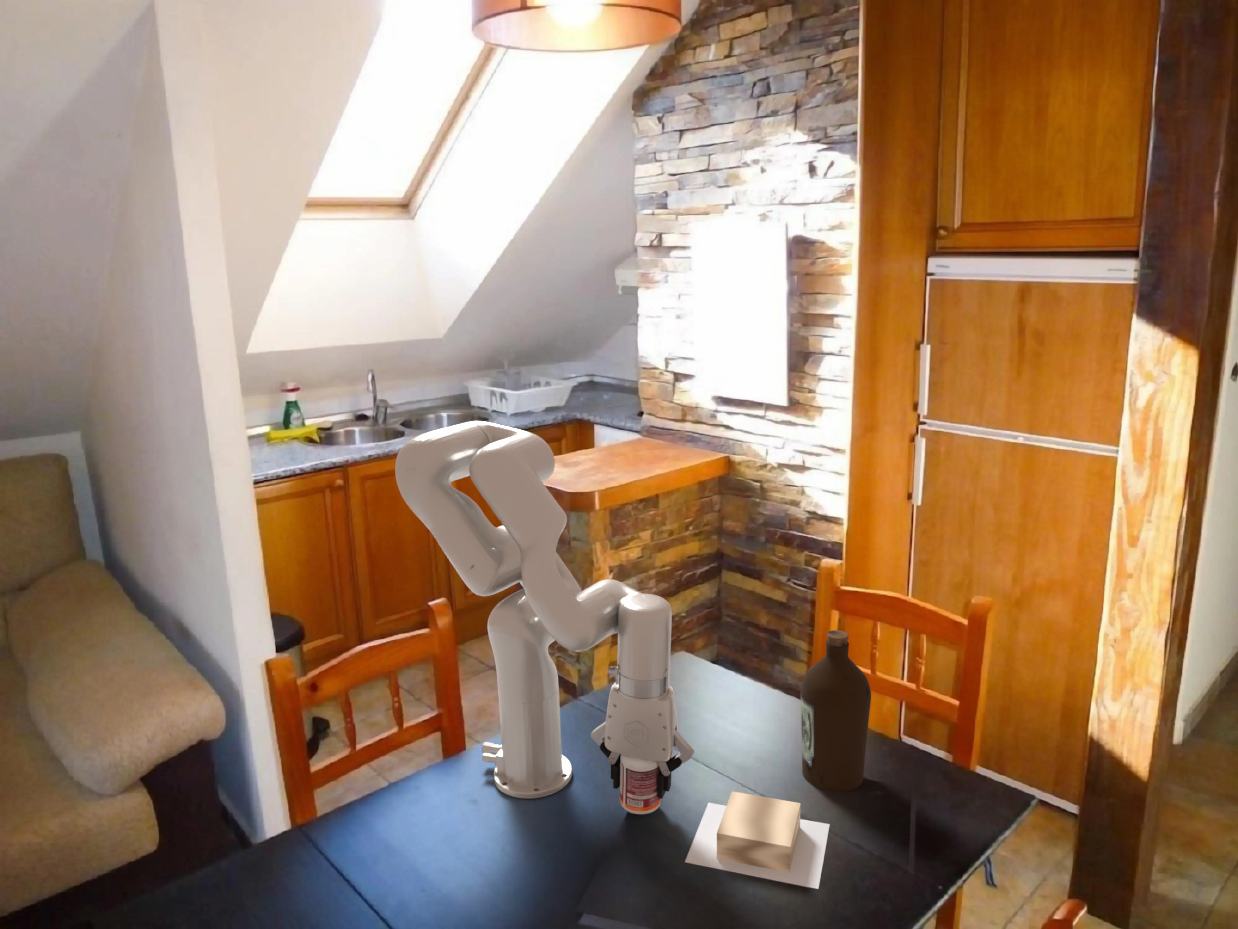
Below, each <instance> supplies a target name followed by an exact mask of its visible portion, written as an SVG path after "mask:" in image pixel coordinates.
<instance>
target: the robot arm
mask: <svg viewBox="0 0 1238 929" xmlns="http://www.w3.org/2000/svg"><path fill="white" fill-rule="evenodd" d="M555 459H556V458H555V454H554V452H553V450H552V448H551V446H549V444H548V443H547V442H546V441H545V439H543V437H540V436H539V435H538V434H535V433H533V432H530V431H526V430H522V429H519V428H515V427H510V426H505V425H500V424H498V423H493V422H487V421H482V420H472V421H466V422H461V423H458V424H454V425H451V426H446V427H442V428H438V429H434V430H430V431H428V432H424V433H421V434H419V435H416V436H415V437H413V438H412V439H410V440H408V441H407V442H406V443H405V444H403V446H402V447H401V448H400V450H399V451H398V452H397V455H396V459H395V467H394V468H395V473H394V474H395V480H396V485H397V487H398V490H399V493H400V495H401V497H402V499H403V500H404V502H405V503H406V505H407V506H408V508H409V509H410V510H411V511H412V513H413V514H414V515H415V516H416V517H417V518H418V520H420V521H421V522H422V524H423V525H424V526H425V527H426V529H428V530H429V532H430V533H431V534H432V536H433V538H434V539H435V540H436V542H437V544H438V545H439V548H441V550H442V552H443V553H444V554H445V556H446V557H447V560H448V561H449V562H450V564H451V566H453V568H454V570H455V571H456V573H457V574H458V576H459V577H460V578H461V580H462V581H463V583H464V584H465V585H466V587H467V588H468V589H469V590H470V591H471V592H472V593H474V595H477V596H479V597H480V596H481V597H488V596H489V597H491V596H492V595H493V596H494V595H495V594H499V593H500V592H503V591H505V590H506V589H508V588H511V587H512V586H514V585H516V584H518V583H520V586H521V587H523V588H521V589H519V590H517V591H515V592H513V593H511V594H510V595H508V596H506V597H505V598H504V599H502V600H500V601H499V602H498V603H497V604H496V605H495V606H494V608H493V609H492V611H491V612H490V614H489V616H488V619H487V626H486V627H487V633H488V634H487V635H488V639H489V644H490V646H491V650H492V653H493V657H494V663H495V670H496V671H495V672H496V680H497V681H496V682H497V695H498V709H499V724H500V741H501V743H500V744H497V743H494V742H488V741H484V742H483V744H482V747H481V753H482V756H481V761H482V762H485V763H493V764H495V765H496V766H495V768H494V770H493V771H494V772H493V780H494V781H493V782H494V784H495V786H496V788H497V789H498V790H499V791H500V792H501V793H504V794H505V795H507V796H510V797H513V798H517V799H518V798H519V799H525V800H526V799H530V800H531V799H538V798H544V797H548V796H551V795H553V794H555V793H557V792H559V791H561V790H563V789H564V788H565V787H566V786H567V785H568V784H569V783H570V782H571V779H572V776H573V766H572V764H571V761H570V760H569V759H568V758H567V757H566V756H565V755H563V753H562V735H561V734H562V733H561V732H562V731H561V710H560V688H559V687H560V686H559V676H558V669H557V667H556V665H555V662H554V660H553V659H552V658H551V655H550V654H549V650H548V649H549V646H550V645H551V644H552V643H553V642H556V643H558V644H559V645H560V646H561V647H562V648H564V649H566V650H568V651H571V652H579V653H580V652H584V651H588V650H589V649H591V648H593V647H595V646H596V645H598V644H600V643H601V642H602V641H604V640H606V638H608V637H610V636H612V635H615V634H617V665H614V666H612V665H610V666H609V667H608V670H607V675H608V676H611V677H613V678H615V682H614V683H613V684H612V685H611V688H610V691H609V694H608V695H609V696H608V702H607V708H606V716H605V721H604V722H603V723H601V724H600V725H598V726H597V727H596V728H594V729H593V730H592V731H591V733H590V738H591V739H592V740H593V741H594V742H595V743H596V745H597V746H599V749H600V751H601V752H602V753H603V754H604V756H606V758H607V762H608V764H609V765H610V779H611V780H613V782H612V785H613V786H612V787H613V789H616V790H618V789H620V756H621V754H623V755H627V756H632V757H637V758H641V759H646V760H651V761H657V762H658V764H659V767H660V769H661V771H660V773H659V775H658V792H657V797H658V798H659V799H661V800H663V798H664V797H665V794H666V792H667V793H668V792H670V790H671V786H672V772H673V771H675V770H676V769H679V767H681V765H683V764H685V763H686V762H688V761H689V760H691V759H692V758H693V755H694V754H695V750H694V749H693V747H692V746H691V745H690V744H689V743H688V741H686V740H685V738H684V737H683V736H682V735H681V734H680V733H679V728H678V711H677V705H676V704H677V703H676V697H675V696H676V695H675V692H674V688H673V686H671V685H670V678H671V676H670V675H671V648H672V647H671V645H672V617H673V616H672V607H671V604H670V603H669V602H668V600H666V599H665V598H664V597H662V596H660V595H656V594H652V593H642V592H641V591H639V590H637V589H635V588H633V587H631V586H629V585H627V584H625V583H623V582H621V581H619V580H616V579H611V578H606V579H602V580H599V581H597V582H595V583H594V584H592V585H590V586H589V587H586V588H585V589H583V590H582V588H581V586H580V585H579V583H578V581H577V580H576V579H575V577H574V576H573V575H572V572H571V571H570V569H568V567H567V566H566V563H564V561H563V560H562V558H561V557H560V554H558V552H557V546H558V542H559V540H560V536H562V535H561V534H562V533H563V532H564V529H565V528H566V525H567V522H568V517H567V514H566V512H565V511H564V509H563V508H562V507H561V505H559V503H558V502H557V500H556V499H555V498H554V496H553V494H551V492H550V490H549V489H548V488H547V487H546V485H545V484H544V482H546V481H548V480H549V479H550V478H551V476H552V475H553V473H554V471H555V464H556V460H555ZM467 477H470V480H471V482H472V483H473V485H474V486H475V487H476V489H477V491H478V493H479V494H480V495H481V496H482V498H483V499H484V501H486V503H487V505H488V506H489V507H490V509H491V510H492V512H493V514H494V515H495V516H496V517H497V519H498V520H499V522H500V523H501V524H502V525H499V526H497V527H496V526H494V525H493V524H492V522H490V520H489V519H488V517H487V516H486V515H485V513H484V512H483V510H482V509H481V507H480V506H479V505H478V504H477V502H476V501H474V500H473V499H472V498H471V497H470V496H468V495H467V494H466V493H464V492H462V491H460V490H458V489H457V488H455V487H454V486H453V485H452V482H454V481H457V480H460V479H463V478H467ZM674 748H676V749H677V750H678V752H679V753H677V754H675V755H674V756H673V751H674Z"/></svg>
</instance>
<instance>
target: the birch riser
mask: <svg viewBox="0 0 1238 929" xmlns="http://www.w3.org/2000/svg"><path fill="white" fill-rule="evenodd" d="M801 804H802V803H800V802H795V801H789V800H784V799H778V798H773V797H767V796H761V795H755V794H749V793H745V792H737V791H733V790H732V791H731V793H730V795H729V798H728V801H727V804H726V805H725V806H726V809H725V812H724V814H723V817H722V820H721V823H720V825H719V828H718V831H717V858H718V859H723V860H728V861H733V862H738V863H743V864H748V865H753V866H758V867H763V868H768V869H773V870H778V871H783V872H788V873H790V870H791V865H792V861H793V856H794V852H795V848H796V843H797V839H798V834H799V830H800V819H801V806H802V805H801Z"/></svg>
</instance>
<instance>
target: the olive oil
mask: <svg viewBox="0 0 1238 929" xmlns="http://www.w3.org/2000/svg"><path fill="white" fill-rule="evenodd" d="M826 639H827V640H826V641H825V655H824V656H823V657H822V658H820V659H819V660H818V661H817V662H815V663H814V664H812V666H810V667H809V669H807V670H806V673H805V674H804V676H803V679H802V682H801V685H800V693H799V694H800V714H801V715H800V719H801V761H802V762H801V764H802V765H801V766H802V768H801V771H802V772H801V773H802V776H803V778H804V780H805V781H806V782H808V784H810V785H811V786H813V787H815V788H817V789H820V790H824V791H828V792H833V793H834V792H835V793H839V792H840V793H841V792H842V793H843V792H848V791H853V790H855V789H857V788H859V787H860V786H861V785H862V783H863V782H864V774H865V773H864V772H865V760H866V751H867V750H866V749H867V739H868V738H867V737H868V730H869V721H870V720H869V719H870V711H871V703H872V691H871V690H872V689H871V687H870V682H869V680H868V677H867V676H866V674H865V673H864V672H863V670H862V669H861V668H860V667H859V666H857V664H855V663H854V662H853V660H851V658H850V657H849V651H850V650H849V648H850V643H849V634H848V633H847V632H846V631H843V630H839V629H836V630H830V631H828V632H827V633H826Z"/></svg>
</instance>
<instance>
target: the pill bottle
mask: <svg viewBox="0 0 1238 929" xmlns="http://www.w3.org/2000/svg"><path fill="white" fill-rule="evenodd" d="M660 771H661V769H660V767H659V764H658V762H657V761H651V760H646V759H641V758H637V757H632V756H627V755H623V754H621V756H620V786H619V802H620V806H621V807H622V808H623V809H624V810H625V811H627V812H628V813H630V814H635V815H647V814H651V813H654V812H655V811H657V809H659V807H660V805H661V800H662V799H659V798H658V797H657V792H658V775H659V773H660Z"/></svg>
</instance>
